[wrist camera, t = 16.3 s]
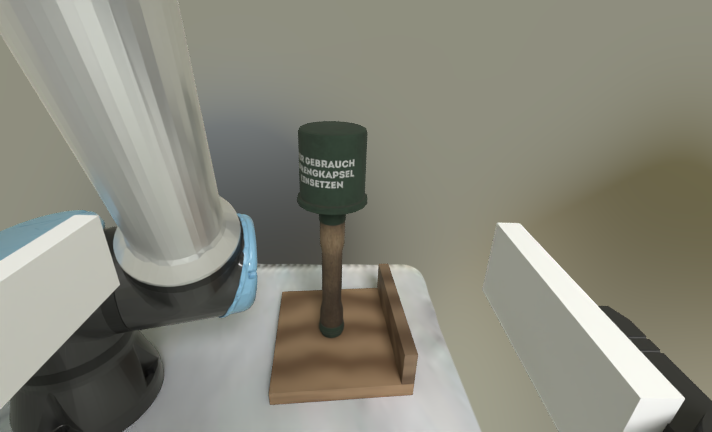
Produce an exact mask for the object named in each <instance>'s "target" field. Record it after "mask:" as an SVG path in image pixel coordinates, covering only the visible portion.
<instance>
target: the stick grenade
mask: <svg viewBox="0 0 712 432" xmlns="http://www.w3.org/2000/svg"><path fill="white" fill-rule="evenodd" d="M298 140H299V141H298V142H299V176H300V192H299V194H298V197H297V202H298V204H299V205H300V207H302V208H304V209H305V210H307V211H310V212H313V213H317V214H319V220H320V244H321V248H322V304H321V308H320V322H319V329H320V332H321V333H322V335H323V336H325V337H327V338H336V337H338V336H339V335H341V333H342V331H343V329H344V319H343V306H342V301H341V287H342V250H343V246H344V236H345V218H346V217H345V216H346V214H348V213H353V212H356V211H358V210H360V209H362V208H364V207H365V205H366V204H367V195H366V194H365V174H366V149H367V130H366V128H365V127H363V126H361V125H358V124H354V123H348V122H336V121H323V122H313V123H307V124H305V125H302V126H300V128H299V130H298Z"/></svg>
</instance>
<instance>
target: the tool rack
mask: <svg viewBox="0 0 712 432" xmlns="http://www.w3.org/2000/svg"><path fill="white" fill-rule="evenodd" d="M341 301H342V306H343V319H344V329H343V331H342V333H341V335H339V336H338V337H336V338H327V337H325V336H323V335H322V333H321V332H320V329H319V322H320V308H321V304H322V290H313V291H288V292H282V299H281V306H280V314H279V321H278V329H277V336H276V344H275V351H274V359H273V366H272V374H271V381H270V389H269V400H270V405H275V404H289V403H304V402H318V401H332V400H346V399H360V398H374V397H389V396H403V395H413V388H414V380H415V373H416V366H417V359H418V353H417V350H416V347H415V344H414V341H413V338H412V335H411V332H410V329H409V326H408V323H407V320H406V317H405V314H404V310H403V307H402V304H401V301H400V298H399V295H398V292H397V289H396V286H395V283H394V280H393V277H392V274H391V271H390V268H389V265H388V264H379V269H378V284H377V288H364V289H341Z"/></svg>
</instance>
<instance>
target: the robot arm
mask: <svg viewBox="0 0 712 432" xmlns="http://www.w3.org/2000/svg"><path fill="white" fill-rule="evenodd" d="M0 35H1V36H2V38H3V40H4V41H5V43H6V45H7V46H8V48H9V49H10V51H11V53H12V54H13V56H14V58H15V59H16V61H17V63H18V64H19V66H20V67H21V69H22V71H23V72H24V74H25V76H26V77H27V79H28V80H29V82H30V84H31V85H32V87H33V89H34V90H35V92H36V93H37V95H38V97H39V98H40V100H41V102H42V103H43V105H44V106H45V108H46V110H47V111H48V113H49V115H50V116H51V118H52V119H53V121H54V123H55V124H56V126H57V128H58V129H59V131H60V133H61V134H62V136H63V137H64V139H65V141H66V142H67V144H68V146H69V147H70V149H71V151H72V152H73V154H74V155H75V157H76V159H77V160H78V162H79V164H80V165H81V167H82V168H83V170H84V172H85V173H86V175H87V177H88V178H89V180H90V181H91V183H92V185H93V186H94V188H95V190H96V191H97V193H98V195H99V196H100V198H101V199H102V201H103V203H104V204H105V206H106V208H107V209H108V211H109V212H110V214H111V215H112V217H113V219H114V221H115V222H116V224H117V225H118V227H110V228H106V227H105V222H104V220H103V219H101V217H100V216H99V215H98V214H96V213H94V212H91V211H90V212H87V211H84V210H74V211H67V212H60V213H55V214H50V215H46V216H42V217H39V218H35V219H32V220H29V221H26V222H23V223H20V224H17V225H15V226H12V227H10V228H7V229H5V230H3V231H0V409H1V408H2V407H3V406H4V405H5V404H6V403H7V402H8V401H9V400H10V425H11V428H12V431H13V432H122V431H123V430H125V429H126V428H127V427H129V426H130V425H131V424H132V423H134V422H135V421H136V420H137V419H138V418H139V417H140V416H141V415H142V414H143V413H144V412H145V411H146V410H147V409H148V408H149V406H150V405H151V404H152V402H153V401H154V400H155V398H156V396H157V395H158V393H159V391H160V388H161V386H162V382H163V377H164V371H163V366H162V362H161V359H160V356H159V353H158V352H157V350H156V348H155V347H154V346H153V345H152V344H151V343H150V342H149V341H148V340H147V339H146V338H145V337H144V336H143V334H142V333H141V332H140V331H139V330H143V329H148V328H154V327H160V326H166V325H172V324H178V323H184V322H190V321H195V320H201V319H207V318H213V317H219V318H222V317H226V316H228V315H230V314H233V313H238V312H242V311H245V310H247V309H249V308H250V307H251V306H252V304H253V303H254V300H255V297H256V290H257V273H256V270H257V248H256V237H255V229H254V225H253V221H252V219H251V218H250V217H249V216H248V215H245V214H239V213H236V211H235V210H234V208H233V207H232V206H231V205H230V204H229V203H228V202H227V201H226V200H225V199H223V198H222V197H220V196H219V195H218V190H217V186H216V181H215V176H214V171H213V167H212V162H211V157H210V152H209V147H208V143H207V138H206V133H205V128H204V123H203V119H202V114H201V109H200V104H199V99H198V95H197V90H196V85H195V80H194V76H193V71H192V67H191V62H190V57H189V52H188V47H187V42H186V37H185V33H184V28H183V23H182V19H181V14H180V9H179V4H178V0H0ZM482 290H483V292H484V294H485V296H486V298H487V300H488V301H489V303H490V305H491V307H492V309H493V311H494V313H495V314H496V316H497V318H498V320H499V322H500V324H501V326H502V328H503V329H504V331H505V333H506V335H507V337H508V339H509V341H510V342H511V344H512V346H513V348H514V350H515V352H516V353H517V356H518V357H519V359H520V361H521V363H522V365H523V367H524V368H525V370H526V372H527V374H528V376H529V378H530V380H531V381H532V383H533V385H534V387H535V389H536V391H537V393H538V394H539V396H540V398H541V400H542V402H543V404H544V406H545V408H546V409H547V411H548V413H549V415H550V417H551V419H552V421H553V423H554V424H555V426H556V428H557V430H558V432H712V401H711V400H710V399H709V398H708V397H707V396H706V395H705V394H704V393H703V392H702V391H701V390H700V389H699V388H698V387H697V386H696V385H695V384H694V383H693V382H692V381H691V380H690V379H689V378H688V377H687V376H686V375H685V374H684V373H683V372H682V371H681V370H680V369H679V368H678V367H677V366H676V365H675V364H674V363H673V362H672V361H671V360H670V359H669V358H668V357H667V356H666V355H665V354H664V353H660V349H659V348H658V347H657V346H656V345H655V344H654V343H652V342H651V340H649V339H646V336H645V335H644V334H643V333H642V332H641V331H640V330H639V329H638V328H637V327H636V326H635V325H634V324H633V323H632V322H631V321H630V320H629V319H627V318H626V317H624V316H623V315H621V314H620V313H618V312H616V311H615V310H613V309H612V308H610V307H608V306H597V305H596V304H595V303H594V302H593V301H592V299H591V298H589V296H588V295H587V294H586V293H585V292H584V291H583V290H582V289H581V288H580V287H579V286H578V285H577V284H576V282H574V280H573V279H572V278H571V277H569V275H568V274H567V273H566V272H565V271H564V270H563V269H562V268H561V267H560V266H559V264H557V262H556V261H555V260H554V259H553V258H552V257H551V256H550V255H549V254H548V253H547V252H546V251H545V250H544V249H543V248H542V246H541V245H539V243H538V242H537V241H536V240H535V239H534V238H533V237H532V236H531V235H530V234H529V233H528V232H527V231H526V230H525V228H524V227H523V226H521V224H520V223H497V225H496V230H495V234H494V238H493V243H492V248H491V252H490V257H489V261H488V266H487V271H486V275H485V280H484V284H483V289H482Z"/></svg>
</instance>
